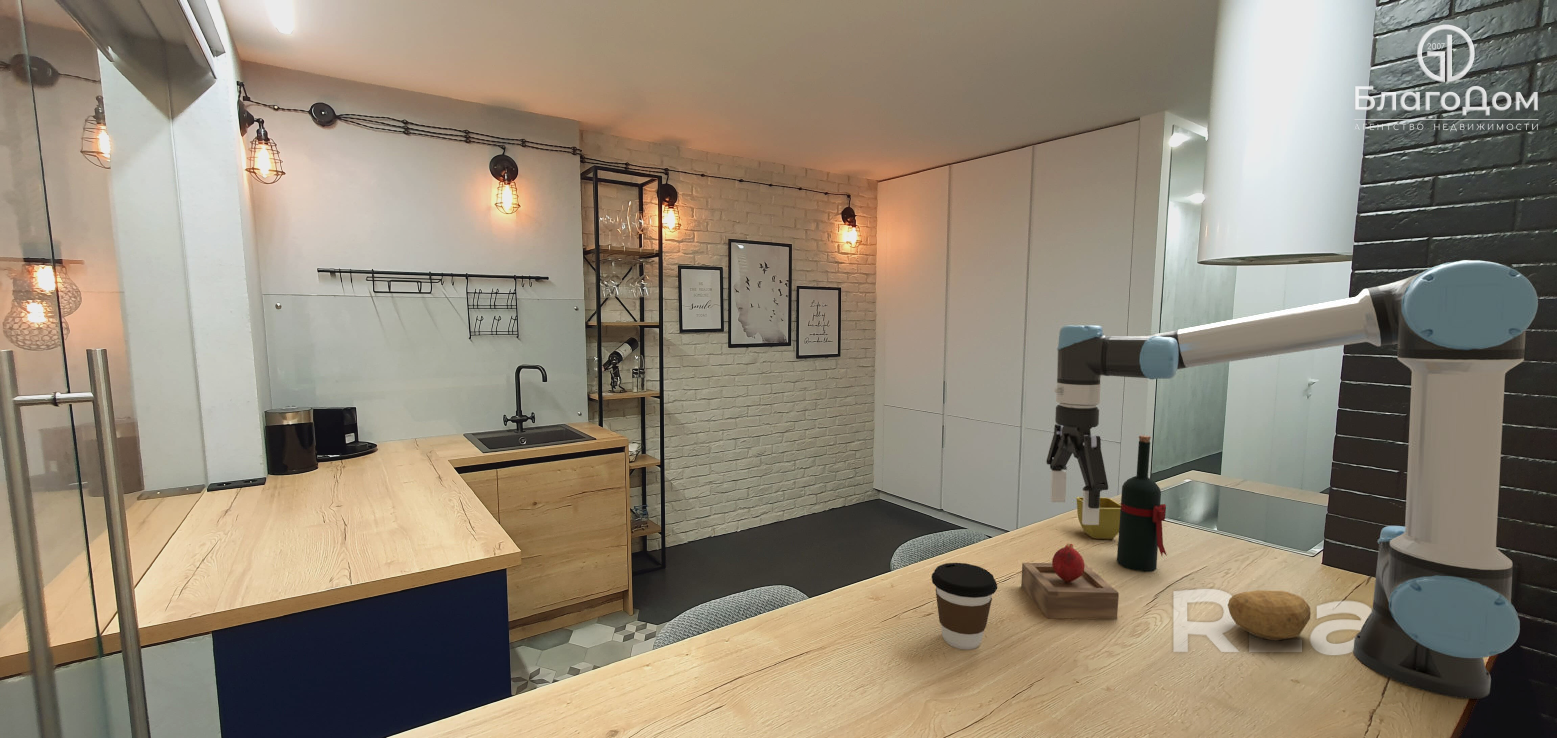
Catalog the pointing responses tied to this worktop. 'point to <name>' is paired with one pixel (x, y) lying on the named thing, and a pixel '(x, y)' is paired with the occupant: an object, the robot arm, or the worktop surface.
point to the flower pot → (1102, 519)
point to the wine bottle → (1141, 517)
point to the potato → (1270, 613)
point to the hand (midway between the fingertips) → (1073, 512)
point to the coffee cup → (963, 602)
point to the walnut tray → (1069, 593)
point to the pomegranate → (1068, 563)
